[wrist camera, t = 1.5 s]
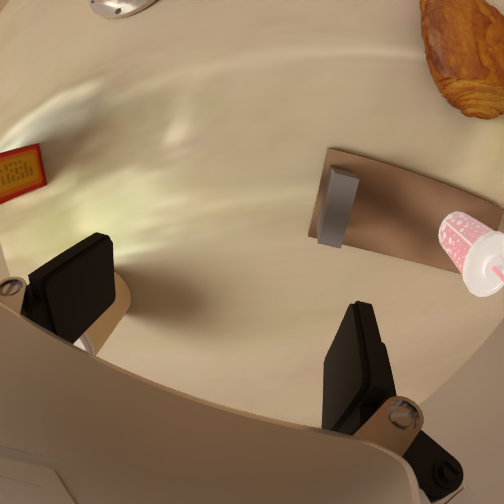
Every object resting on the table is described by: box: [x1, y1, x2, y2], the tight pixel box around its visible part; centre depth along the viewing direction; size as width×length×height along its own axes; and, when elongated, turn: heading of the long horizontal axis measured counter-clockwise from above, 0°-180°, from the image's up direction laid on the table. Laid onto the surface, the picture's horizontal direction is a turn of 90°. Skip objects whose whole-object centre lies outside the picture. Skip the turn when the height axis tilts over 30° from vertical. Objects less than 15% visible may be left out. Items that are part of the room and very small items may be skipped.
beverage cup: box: [438, 211, 504, 297], centre depth 20 cm, size 6×6×14 cm
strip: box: [308, 148, 504, 274], centre depth 24 cm, size 9×22×6 cm, turn 81°
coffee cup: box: [73, 271, 131, 356], centre depth 33 cm, size 9×9×12 cm
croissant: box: [420, 0, 504, 120], centre depth 15 cm, size 14×16×8 cm
